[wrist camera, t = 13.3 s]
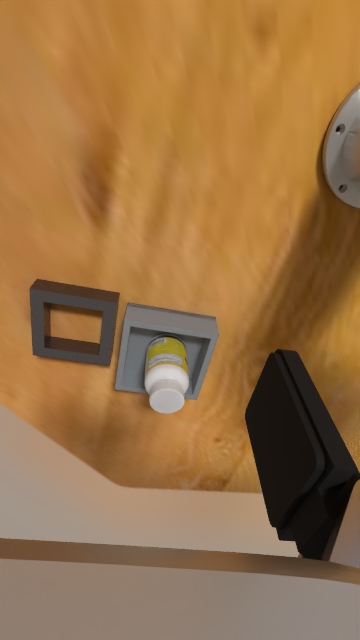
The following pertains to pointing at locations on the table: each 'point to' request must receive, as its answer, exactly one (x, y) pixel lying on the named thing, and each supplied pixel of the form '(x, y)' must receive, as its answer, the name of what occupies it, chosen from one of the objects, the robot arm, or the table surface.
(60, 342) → the socket collar
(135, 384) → the tray
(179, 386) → the supplement bottle
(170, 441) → the table surface
